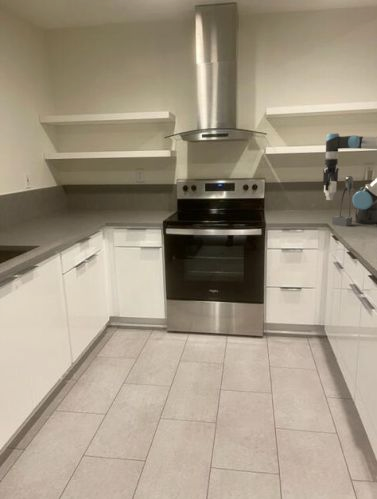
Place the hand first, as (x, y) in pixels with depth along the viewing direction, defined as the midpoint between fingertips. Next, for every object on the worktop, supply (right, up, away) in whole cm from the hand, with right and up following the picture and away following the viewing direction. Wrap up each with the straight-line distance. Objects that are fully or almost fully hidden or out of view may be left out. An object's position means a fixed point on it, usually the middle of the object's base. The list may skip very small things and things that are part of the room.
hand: (329, 195), depth 249 cm
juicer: (+17, -16, +11) cm, 26 cm away
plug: (0, -3, +1) cm, 3 cm away
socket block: (+6, -20, -4) cm, 21 cm away
